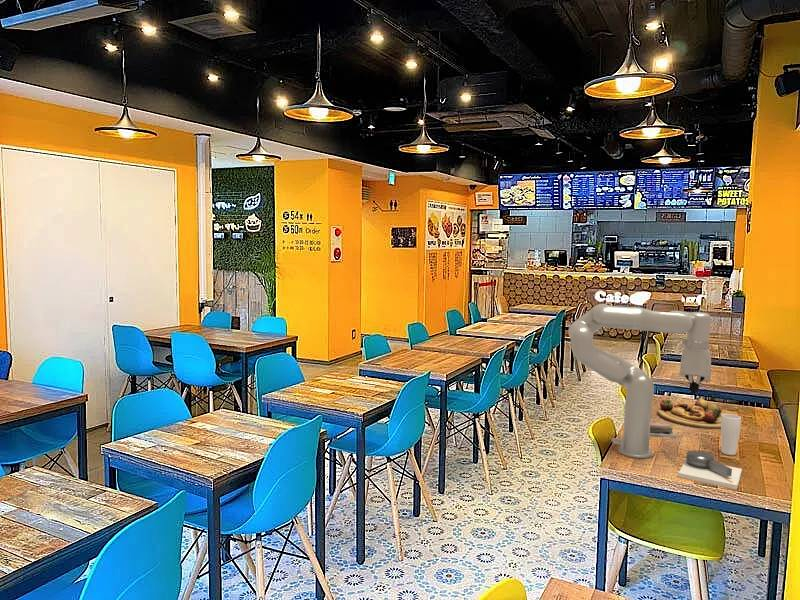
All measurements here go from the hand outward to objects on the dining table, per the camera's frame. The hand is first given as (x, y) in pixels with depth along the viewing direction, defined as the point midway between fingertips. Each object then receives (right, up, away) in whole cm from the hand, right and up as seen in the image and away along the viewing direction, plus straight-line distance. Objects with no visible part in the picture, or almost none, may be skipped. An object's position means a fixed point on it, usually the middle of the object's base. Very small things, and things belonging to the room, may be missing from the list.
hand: (693, 392), depth 228 cm
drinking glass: (+17, -25, +8) cm, 31 cm away
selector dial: (-1, -25, -14) cm, 28 cm away
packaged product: (-3, -23, +31) cm, 38 cm away
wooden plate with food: (+27, -21, +54) cm, 64 cm away
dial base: (-1, -27, -15) cm, 31 cm away
